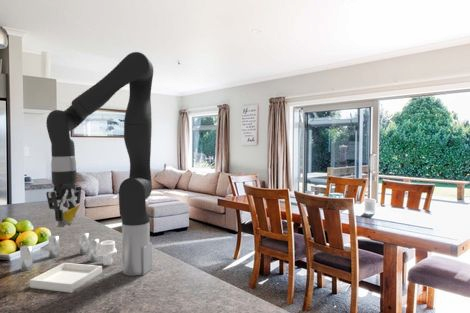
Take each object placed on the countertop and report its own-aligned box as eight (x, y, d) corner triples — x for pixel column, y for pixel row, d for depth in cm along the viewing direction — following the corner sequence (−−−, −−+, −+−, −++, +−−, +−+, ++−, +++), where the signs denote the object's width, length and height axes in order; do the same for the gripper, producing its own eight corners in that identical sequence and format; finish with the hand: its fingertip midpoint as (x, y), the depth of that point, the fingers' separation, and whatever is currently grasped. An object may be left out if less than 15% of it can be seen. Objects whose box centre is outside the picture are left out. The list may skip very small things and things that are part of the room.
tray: (102, 273, 114) (102, 266, 114) (71, 292, 100) (71, 284, 99) (64, 269, 117) (64, 262, 117) (29, 287, 103) (29, 279, 103)
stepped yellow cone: (59, 225, 116) (81, 204, 119) (65, 234, 113) (88, 212, 116) (48, 219, 112) (71, 197, 115) (54, 228, 109) (78, 205, 112)
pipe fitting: (94, 264, 122) (93, 243, 122) (111, 259, 128) (111, 238, 128) (103, 268, 118) (103, 246, 118) (121, 262, 124) (120, 241, 124)
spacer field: (110, 253, 134) (110, 234, 134) (71, 275, 112) (71, 252, 111) (64, 249, 139) (64, 231, 138) (18, 270, 116) (17, 248, 116)
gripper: (57, 171, 105) (59, 224, 105) (87, 168, 119) (89, 214, 119) (37, 171, 106) (39, 223, 107) (69, 167, 120) (71, 214, 121)
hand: (65, 218), depth 113 cm, fingers closed on stepped yellow cone, 5 cm apart
